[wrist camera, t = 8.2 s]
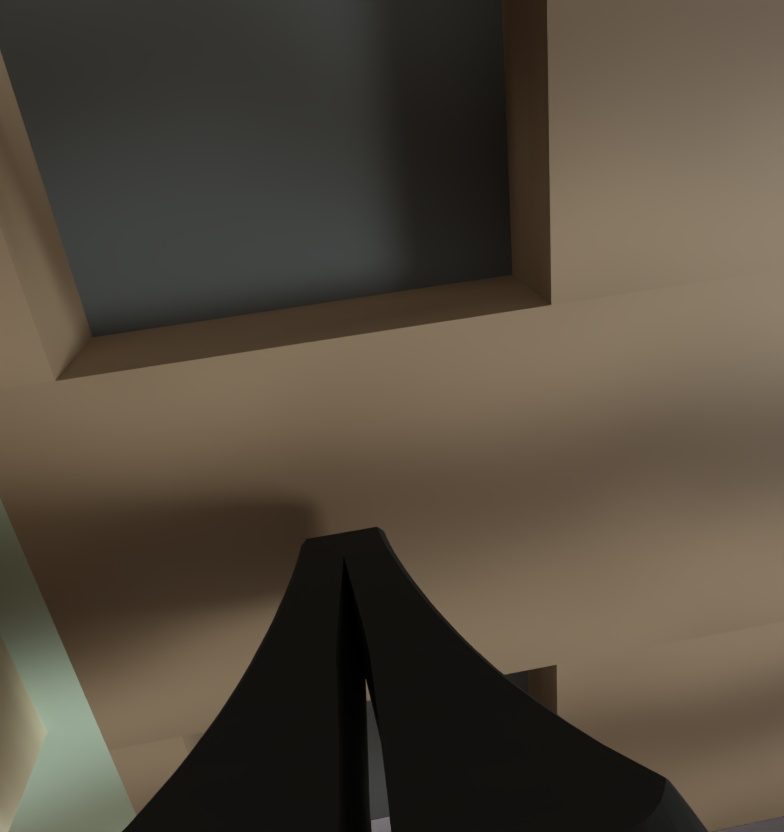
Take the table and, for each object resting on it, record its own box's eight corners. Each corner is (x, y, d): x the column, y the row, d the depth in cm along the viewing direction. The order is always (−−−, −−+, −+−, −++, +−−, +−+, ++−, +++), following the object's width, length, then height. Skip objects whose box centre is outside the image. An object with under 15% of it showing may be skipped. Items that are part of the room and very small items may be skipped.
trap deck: (819, 719, 20) (921, 838, 17) (-148, 915, 19) (-244, 1093, 15) (1028, -234, 11) (1346, -380, 8) (-897, -41, 9) (-1585, -123, 6)
